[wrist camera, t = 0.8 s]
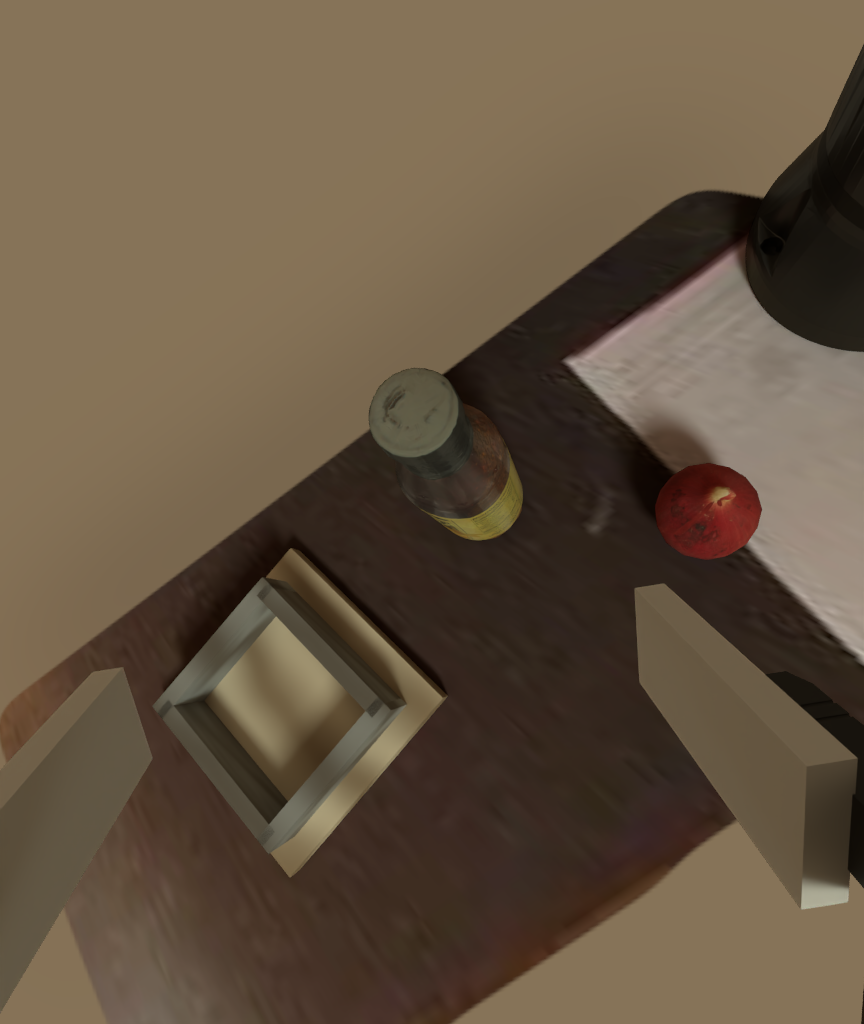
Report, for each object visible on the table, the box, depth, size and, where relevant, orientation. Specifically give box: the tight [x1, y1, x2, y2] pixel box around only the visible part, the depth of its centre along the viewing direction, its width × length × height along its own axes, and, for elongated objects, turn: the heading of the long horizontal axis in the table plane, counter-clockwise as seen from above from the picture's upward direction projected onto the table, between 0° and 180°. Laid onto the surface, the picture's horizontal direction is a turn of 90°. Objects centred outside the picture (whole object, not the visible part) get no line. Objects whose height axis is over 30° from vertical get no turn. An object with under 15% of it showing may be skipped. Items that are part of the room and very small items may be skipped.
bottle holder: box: [153, 548, 448, 877], centre depth 42 cm, size 16×16×5 cm
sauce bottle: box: [369, 368, 523, 540], centre depth 34 cm, size 6×6×20 cm
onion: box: [655, 463, 762, 560], centre depth 36 cm, size 6×6×8 cm
